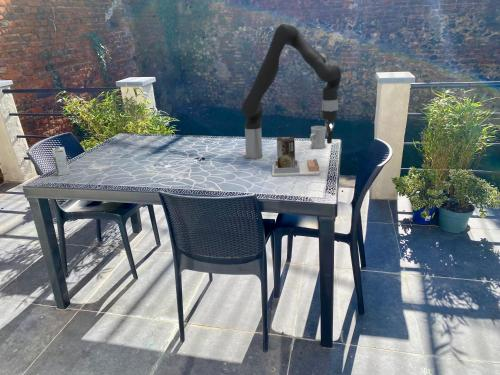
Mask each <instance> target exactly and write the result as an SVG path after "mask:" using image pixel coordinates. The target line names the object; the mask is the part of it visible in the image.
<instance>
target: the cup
mask: <svg viewBox="0 0 500 375" xmlns="http://www.w3.org/2000/svg"><path fill="white" fill-rule="evenodd" d="M310 130H311V134H309V140H310V142H311V144H310V147H311V148H312V149H314V150H322V149H326V134H327V133H326V126H325V125H324V126H323V125H314V126H310Z"/></svg>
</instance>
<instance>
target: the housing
mask: <svg viewBox="0 0 500 375" xmlns="http://www.w3.org/2000/svg"><path fill="white" fill-rule="evenodd" d="M271 165H272V166H271V168H272V169H271V170H272V172H271V173H272V177H274V178H275V177H304V176H305V177H306V176H320V175H321V173H320V170H319V171H309V170H308V166H307V162H303V163H302V162H300V163H299V160H298V159H295V168H278V161H277V160H274V161H273V164H271Z"/></svg>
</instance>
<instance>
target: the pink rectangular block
mask: <svg viewBox="0 0 500 375" xmlns="http://www.w3.org/2000/svg"><path fill="white" fill-rule="evenodd" d="M306 163H307V166H308V170H309V171H319V172H320V166H319V162H318V160H317V158H314V159H307V160H306Z"/></svg>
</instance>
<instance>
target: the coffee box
mask: <svg viewBox="0 0 500 375" xmlns="http://www.w3.org/2000/svg"><path fill="white" fill-rule="evenodd" d="M295 138H296V137H295V136H283V137H281V136H280V137H279V136H278V137H276V153H277V154H276V155H277V159H276V161H278V168H295V160H296V151H295V150H296V142H295V141H296V140H295Z"/></svg>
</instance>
